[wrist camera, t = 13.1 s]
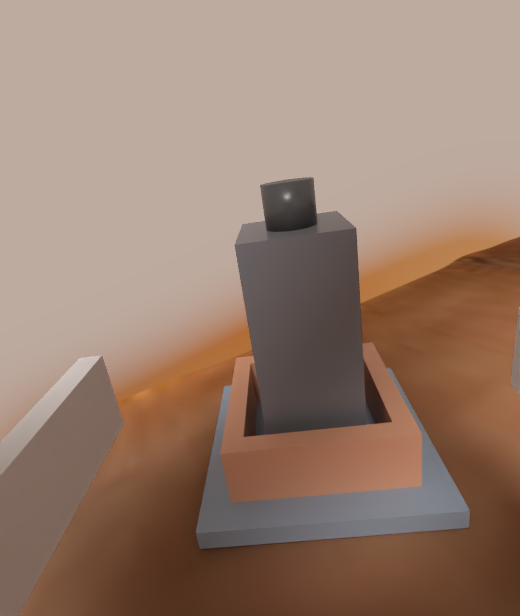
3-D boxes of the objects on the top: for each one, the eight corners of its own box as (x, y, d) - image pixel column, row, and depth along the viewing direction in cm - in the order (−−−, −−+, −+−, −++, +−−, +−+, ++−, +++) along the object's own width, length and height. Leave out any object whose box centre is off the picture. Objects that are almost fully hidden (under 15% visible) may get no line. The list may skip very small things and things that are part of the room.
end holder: (390, 379, 28) (389, 329, 27) (469, 527, 17) (473, 455, 16) (226, 397, 29) (216, 350, 28) (199, 549, 18) (181, 482, 17)
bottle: (350, 402, 25) (333, 170, 20) (368, 459, 20) (353, 176, 15) (272, 410, 25) (236, 185, 20) (272, 468, 21) (226, 195, 16)
